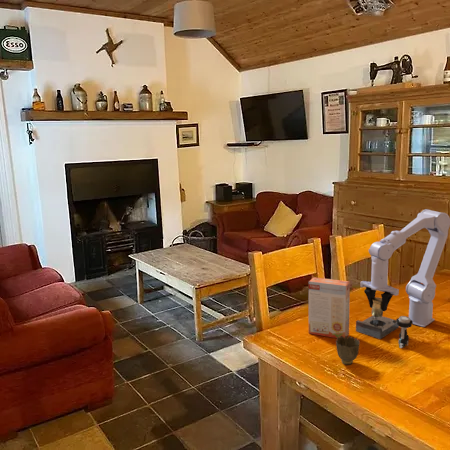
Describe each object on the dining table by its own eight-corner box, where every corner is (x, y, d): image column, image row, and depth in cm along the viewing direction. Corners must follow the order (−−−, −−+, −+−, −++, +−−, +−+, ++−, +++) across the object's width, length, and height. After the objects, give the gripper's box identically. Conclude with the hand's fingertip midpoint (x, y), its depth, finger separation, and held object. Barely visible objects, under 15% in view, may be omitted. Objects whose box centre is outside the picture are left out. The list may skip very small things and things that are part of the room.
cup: (355, 371, 144) (355, 347, 142) (332, 365, 147) (332, 342, 146) (361, 360, 150) (362, 338, 148) (339, 355, 154) (340, 333, 152)
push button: (408, 351, 155) (409, 323, 153) (392, 347, 158) (393, 320, 156) (412, 343, 160) (414, 317, 158) (397, 340, 164) (398, 313, 161)
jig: (374, 320, 181) (375, 310, 180) (398, 327, 174) (399, 317, 173) (355, 331, 172) (356, 321, 171) (380, 339, 164) (380, 328, 164)
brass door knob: (374, 310, 175) (375, 296, 173) (385, 314, 172) (387, 299, 170) (368, 314, 172) (370, 299, 170) (379, 318, 169) (381, 303, 167)
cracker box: (349, 334, 169) (350, 280, 165) (345, 340, 164) (346, 285, 160) (313, 327, 176) (313, 276, 172) (308, 333, 171) (308, 280, 167)
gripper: (356, 272, 171) (355, 306, 174) (392, 281, 160) (391, 317, 163) (366, 268, 176) (365, 301, 178) (402, 276, 165) (400, 311, 168)
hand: (378, 308), depth 171 cm, fingers closed on brass door knob, 4 cm apart
